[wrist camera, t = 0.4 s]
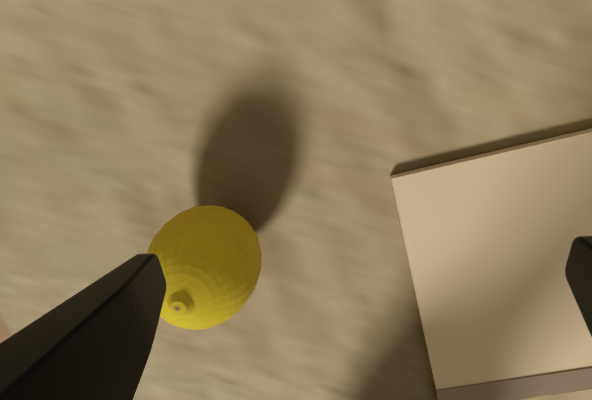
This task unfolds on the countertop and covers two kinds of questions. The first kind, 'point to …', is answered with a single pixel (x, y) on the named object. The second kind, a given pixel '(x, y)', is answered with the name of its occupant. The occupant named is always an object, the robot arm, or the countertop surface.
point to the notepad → (501, 267)
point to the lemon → (206, 265)
